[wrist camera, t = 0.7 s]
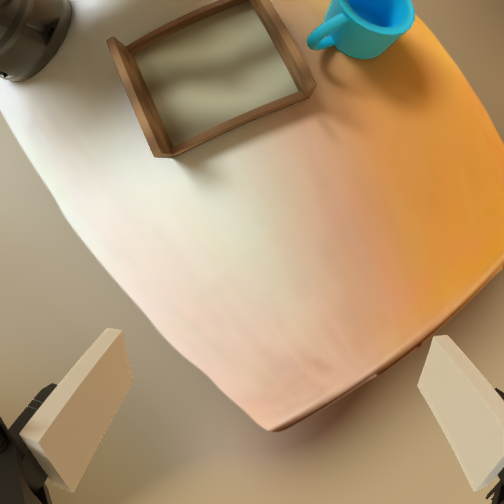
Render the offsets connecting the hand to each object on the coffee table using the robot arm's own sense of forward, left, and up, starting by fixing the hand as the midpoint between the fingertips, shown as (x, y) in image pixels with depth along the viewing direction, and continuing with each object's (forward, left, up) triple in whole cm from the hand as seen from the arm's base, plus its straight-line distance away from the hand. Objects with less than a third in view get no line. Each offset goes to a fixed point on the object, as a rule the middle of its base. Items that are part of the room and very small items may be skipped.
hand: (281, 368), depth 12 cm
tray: (-20, +2, -25) cm, 32 cm away
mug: (-19, +18, -25) cm, 36 cm away
